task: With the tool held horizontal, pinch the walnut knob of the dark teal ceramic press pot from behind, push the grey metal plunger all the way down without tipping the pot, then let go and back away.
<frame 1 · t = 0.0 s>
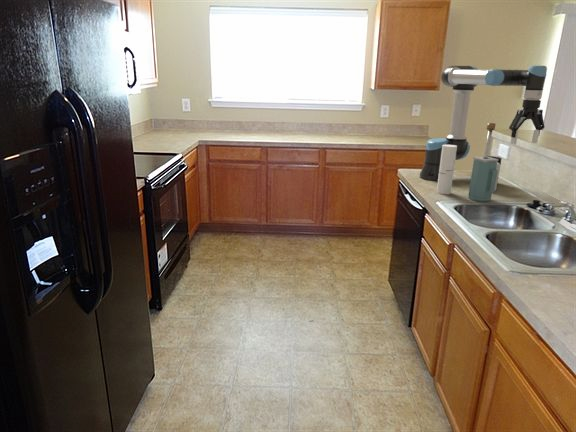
hand: (523, 143, 216), 28 cm above the worktop, tool pointing down, fingers open, 13 cm apart
plunger: (487, 149, 214), point 26 cm above the worktop, slide at 9.0 cm
press pot: (479, 199, 222), on the worktop
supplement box: (485, 188, 242), on the worktop
storage jar: (488, 183, 255), on the worktop
cylindrical container: (443, 192, 233), on the worktop
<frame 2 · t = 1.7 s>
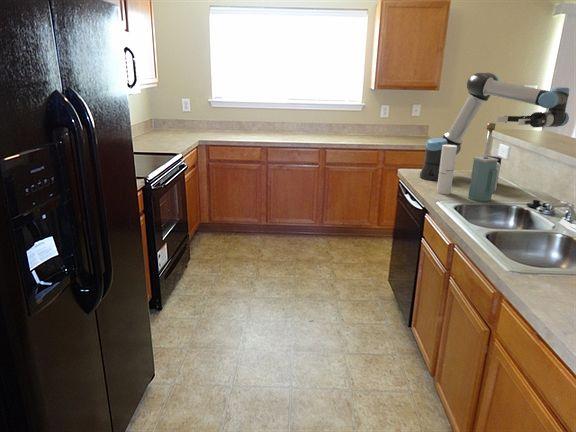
hand: (507, 120, 212), 39 cm above the worktop, tool horizontal, fingers open, 13 cm apart
nothing on the worktop moved.
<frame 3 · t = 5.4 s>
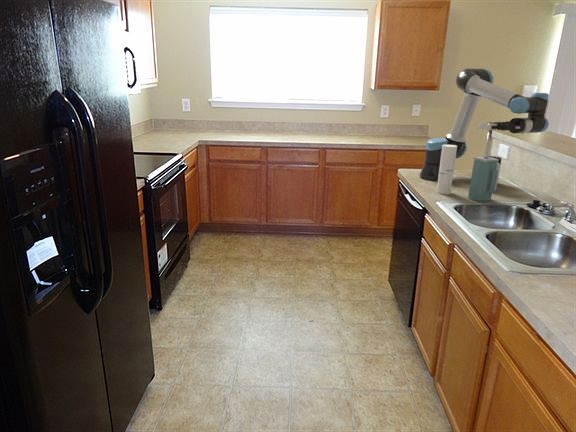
hand: (482, 126, 208), 36 cm above the worktop, tool horizontal, fingers closed on plunger, 4 cm apart
plunger: (487, 149, 214), point 25 cm above the worktop, slide at 9.0 cm, touching gripper
everything else where it was.
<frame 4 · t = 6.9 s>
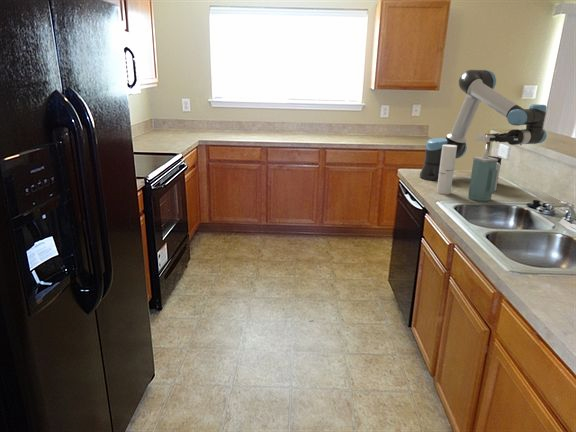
hand: (480, 138, 210), 31 cm above the worktop, tool horizontal, fingers closed on plunger, 4 cm apart
plunger: (485, 160, 215), point 20 cm above the worktop, slide at 3.3 cm, touching gripper
everything else where it was.
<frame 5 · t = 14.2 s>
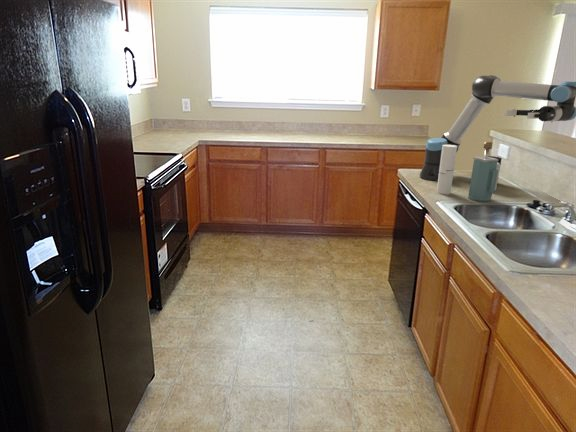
hand: (516, 114, 213), 42 cm above the worktop, tool horizontal, fingers open, 13 cm apart
plunger: (484, 167, 217), point 16 cm above the worktop, slide at -0.1 cm
everything else where it was.
at the end: plunger slide at -0.1 cm; press pot tilted 0°; the gripper is holding nothing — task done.
